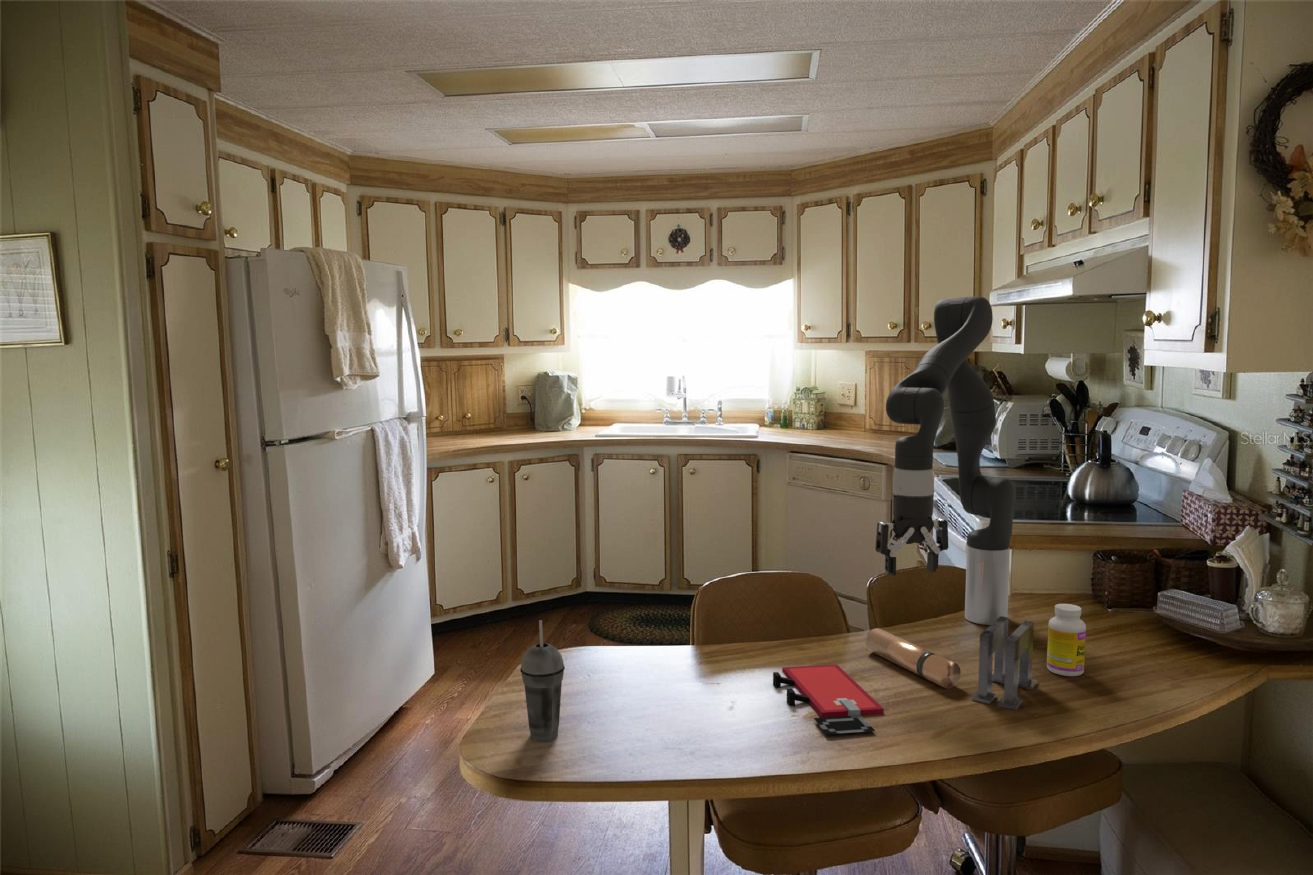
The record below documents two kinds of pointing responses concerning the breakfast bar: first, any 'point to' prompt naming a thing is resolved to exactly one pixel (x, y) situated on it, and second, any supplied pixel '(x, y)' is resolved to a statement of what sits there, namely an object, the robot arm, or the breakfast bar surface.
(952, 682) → the tube
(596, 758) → the breakfast bar surface
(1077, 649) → the supplement bottle
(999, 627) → the metal stand
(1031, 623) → the metal stand
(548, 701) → the beverage cup
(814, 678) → the red board with handle
